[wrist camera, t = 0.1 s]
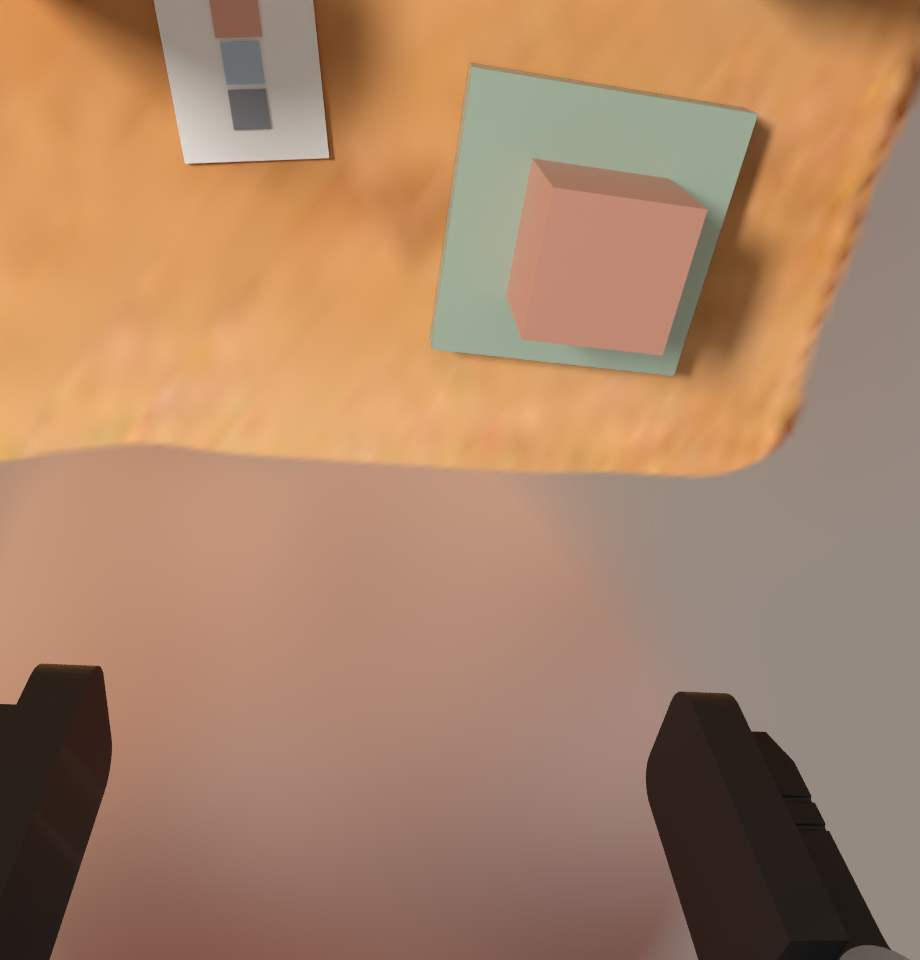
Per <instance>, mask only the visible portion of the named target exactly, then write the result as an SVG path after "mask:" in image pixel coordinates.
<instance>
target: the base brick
mask: <svg viewBox="0 0 920 960" xmlns="http://www.w3.org/2000/svg"><path fill="white" fill-rule="evenodd" d="M707 210H708V209H706V208H705V207H704V206H703V205H701V204H700V203H699V202H698V201H696V200H695V199H694V198H693V197H691V196H690V195H689V194H687V193H686V192H685V191H684V190H682V189H681V188H680V187H679V186H677V185H676V184H675V183H674V182H672V181H671V180H670V179H669V178H662V177H655V176H648V175H642V174H635V173H628V172H622V171H615V170H608V169H601V168H595V167H588V166H581V165H574V164H568V163H561V162H554V161H548V160H541V159H534V158H532V162H531V167H530V172H529V177H528V183H527V188H526V193H525V198H524V204H523V209H522V214H521V219H520V225H519V230H518V235H517V240H516V245H515V251H514V256H513V261H512V266H511V272H510V277H509V282H508V287H507V293H506V298H507V300H508V303H509V306H510V309H511V311H512V314H513V317H514V320H515V322H516V325H517V328H518V331H519V334H520V336H521V339H522V340H529V341H538V342H547V343H556V344H564V345H573V346H582V347H591V348H599V349H608V350H617V351H626V352H635V353H643V354H652V355H661V356H663V353H664V349H665V346H666V343H667V340H668V336H669V333H670V330H671V327H672V324H673V320H674V317H675V314H676V311H677V307H678V304H679V301H680V298H681V294H682V291H683V288H684V285H685V281H686V278H687V275H688V272H689V268H690V265H691V262H692V259H693V256H694V252H695V249H696V246H697V243H698V239H699V236H700V233H701V230H702V226H703V223H704V220H705V217H706V213H707Z"/></svg>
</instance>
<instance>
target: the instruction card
mask: <svg viewBox="0 0 920 960" xmlns="http://www.w3.org/2000/svg"><path fill="white" fill-rule="evenodd" d="M153 1H154V6H155V11H156V16H157V21H158V26H159V32H160V37H161V42H162V47H163V52H164V57H165V63H166V68H167V73H168V78H169V83H170V88H171V94H172V99H173V104H174V109H175V114H176V119H177V125H178V130H179V135H180V140H181V145H182V150H183V156H184V161H185V164H190V163H215V162H241V161H267V160H293V159H319V158H329V149H328V140H327V130H326V120H325V110H324V100H323V91H322V81H321V71H320V61H319V51H318V41H317V32H316V22H315V12H314V2H313V0H153Z"/></svg>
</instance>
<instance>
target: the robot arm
mask: <svg viewBox="0 0 920 960" xmlns="http://www.w3.org/2000/svg"><path fill="white" fill-rule="evenodd" d="M111 755H112V739H111V731H110V724H109V716H108V707H107V699H106V691H105V683H104V675H103V671H102V669H101V667H100V666H86V665H61V664H39V665H38V666H37V667H36V668H35V669H34V670H33V672H32V674H31V675H30V677H29V679H28V682H27V684H26V686H25V688H24V690H23V692H22V694H21V696H20V698H19V700H18V702H17V704H16V705H11V704H0V960H50V956H51V954H52V951H53V947H54V944H55V941H56V938H57V935H58V932H59V929H60V926H61V923H62V920H63V917H64V914H65V911H66V908H67V905H68V902H69V899H70V896H71V893H72V889H73V886H74V883H75V880H76V877H77V874H78V871H79V868H80V865H81V862H82V859H83V856H84V853H85V850H86V847H87V844H88V841H89V838H90V834H91V831H92V828H93V825H94V822H95V819H96V816H97V813H98V810H99V807H100V804H101V801H102V798H103V795H104V792H105V788H106V785H107V781H108V776H109V771H110V764H111ZM646 788H647V795H648V800H649V804H650V807H651V810H652V813H653V816H654V820H655V823H656V826H657V829H658V832H659V836H660V839H661V842H662V845H663V848H664V851H665V855H666V858H667V861H668V864H669V868H670V870H671V874H672V877H673V880H674V883H675V887H676V890H677V893H678V896H679V899H680V903H681V906H682V909H683V912H684V915H685V919H686V921H687V925H688V928H689V931H690V934H691V938H692V941H693V944H694V947H695V950H696V954H697V957H698V960H909V959H907V958H906V957H905V956H903V955H900V954H899V953H897V952H895V951H892V950H891V949H890V948H889V946H888V945H887V943H886V942H885V940H884V938H883V936H882V934H881V932H880V931H879V928H878V926H877V924H876V923H875V921H874V919H873V917H872V915H871V913H870V911H869V909H868V907H867V905H866V903H865V901H864V899H863V897H862V895H861V893H860V892H859V889H858V887H857V885H856V883H855V881H854V879H853V877H852V875H851V874H850V872H849V869H848V867H847V866H846V864H845V861H844V860H843V858H842V856H841V854H840V852H839V850H838V848H837V846H836V844H835V842H834V840H833V838H832V836H831V834H830V832H829V831H826V829H825V822H824V820H823V818H822V816H821V814H820V812H819V810H818V808H817V807H816V804H815V803H812V802H811V794H810V793H809V791H808V788H807V787H806V785H805V783H804V781H803V779H802V777H801V775H800V773H799V771H798V769H797V767H796V765H795V763H794V761H793V760H792V759H791V758H790V757H789V756H788V755H787V754H786V753H785V752H784V751H783V750H782V749H781V748H780V747H779V746H778V744H777V743H776V742H775V741H774V740H773V739H772V738H771V737H770V736H769V735H768V734H767V733H766V732H751V730H750V728H749V726H748V724H747V722H746V719H745V717H744V715H743V713H742V711H741V709H740V707H739V705H738V703H737V701H736V700H735V698H734V697H733V696H731V695H730V694H725V693H701V692H700V693H699V692H678V693H676V694H675V695H674V697H673V699H672V701H671V703H670V705H669V708H668V711H667V713H666V715H665V718H664V721H663V723H662V725H661V728H660V730H659V733H658V736H657V738H656V741H655V743H654V745H653V748H652V750H651V753H650V756H649V759H648V762H647V769H646Z"/></svg>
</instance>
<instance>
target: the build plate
mask: <svg viewBox="0 0 920 960" xmlns="http://www.w3.org/2000/svg"><path fill="white" fill-rule="evenodd" d="M757 116H758V114H757V113H755V112H752V111H750V110H748V109H746V108H741V107H735V106H729V105H723V104H717V103H711V102H705V101H699V100H692V99H686V98H680V97H674V96H668V95H662V94H656V93H650V92H644V91H638V90H632V89H626V88H620V87H614V86H607V85H601V84H595V83H589V82H583V81H577V80H571V79H565V78H559V77H553V76H547V75H541V74H535V73H529V72H522V71H516V70H510V69H504V68H498V67H492V66H486V65H480V64H474V63H469V70H468V77H467V84H466V91H465V98H464V104H463V111H462V118H461V125H460V132H459V139H458V146H457V153H456V160H455V167H454V174H453V181H452V188H451V195H450V202H449V209H448V216H447V223H446V229H445V236H444V243H443V250H442V257H441V264H440V271H439V278H438V285H437V292H436V299H435V306H434V313H433V320H432V327H431V334H430V340H431V348H432V349H433V350H442V351H451V352H460V353H469V354H479V355H488V356H497V357H506V358H515V359H524V360H533V361H542V362H551V363H560V364H569V365H578V366H587V367H596V368H605V369H614V370H623V371H632V372H641V373H650V374H660V375H669V376H674V374H675V371H676V368H677V365H678V362H679V359H680V356H681V352H682V349H683V346H684V343H685V340H686V337H687V334H688V331H689V328H690V324H691V321H692V318H693V315H694V312H695V309H696V306H697V303H698V300H699V296H700V293H701V290H702V287H703V284H704V281H705V278H706V275H707V272H708V268H709V265H710V262H711V259H712V256H713V253H714V250H715V247H716V244H717V240H718V237H719V234H720V231H721V228H722V225H723V222H724V219H725V216H726V212H727V209H728V206H729V203H730V200H731V197H732V194H733V191H734V188H735V184H736V181H737V178H738V175H739V172H740V169H741V166H742V163H743V160H744V156H745V153H746V150H747V147H748V144H749V141H750V138H751V135H752V132H753V128H754V125H755V122H756V119H757ZM532 158H534V159H541V160H548V161H554V162H561V163H568V164H574V165H581V166H588V167H595V168H601V169H608V170H615V171H622V172H628V173H635V174H642V175H648V176H655V177H662V178H669V179H670V180H671V181H672V182H674V183H675V184H676V185H677V186H679V187H680V188H681V189H682V190H684V191H685V192H686V193H687V194H689V195H690V196H691V197H693V198H694V199H695V200H696V201H698V202H699V203H700V204H701V205H703V206H704V207H705V208H706V209H708V210H707V213H706V217H705V220H704V223H703V226H702V230H701V233H700V236H699V239H698V243H697V246H696V249H695V252H694V256H693V259H692V262H691V265H690V268H689V272H688V275H687V278H686V281H685V285H684V288H683V291H682V294H681V298H680V301H679V304H678V307H677V311H676V314H675V317H674V320H673V324H672V327H671V330H670V333H669V336H668V340H667V343H666V346H665V349H664V353H663V356H661V355H652V354H643V353H635V352H626V351H617V350H608V349H599V348H591V347H582V346H573V345H564V344H556V343H547V342H538V341H529V340H522V339H521V336H520V334H519V331H518V328H517V325H516V322H515V320H514V317H513V314H512V311H511V309H510V306H509V303H508V300H507V298H506V293H507V287H508V282H509V277H510V272H511V266H512V261H513V256H514V251H515V245H516V240H517V235H518V230H519V225H520V219H521V214H522V209H523V204H524V198H525V193H526V188H527V183H528V177H529V172H530V167H531V162H532Z"/></svg>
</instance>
